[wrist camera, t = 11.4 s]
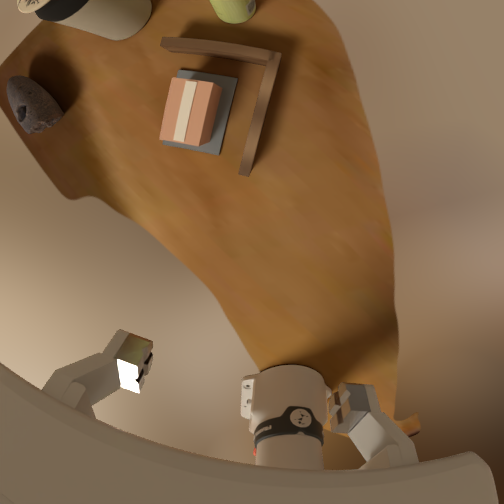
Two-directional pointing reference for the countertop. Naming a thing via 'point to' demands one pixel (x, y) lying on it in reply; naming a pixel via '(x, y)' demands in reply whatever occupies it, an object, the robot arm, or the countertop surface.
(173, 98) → the terracotta block
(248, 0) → the tube
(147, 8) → the travel mug
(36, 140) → the countertop surface
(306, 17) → the countertop surface
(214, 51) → the walnut corner walls
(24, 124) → the perforated stone tool
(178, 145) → the slate pad
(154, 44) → the countertop surface
